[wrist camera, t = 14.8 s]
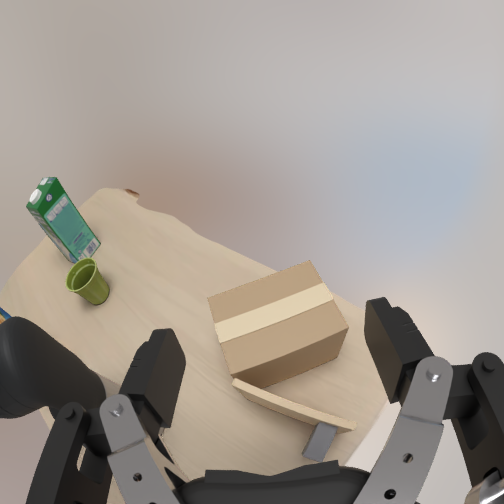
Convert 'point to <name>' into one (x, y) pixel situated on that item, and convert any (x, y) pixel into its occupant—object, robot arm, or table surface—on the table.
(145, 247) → the table surface
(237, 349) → the carton
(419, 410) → the robot arm
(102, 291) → the plant pot
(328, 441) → the front flap
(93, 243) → the milk carton
